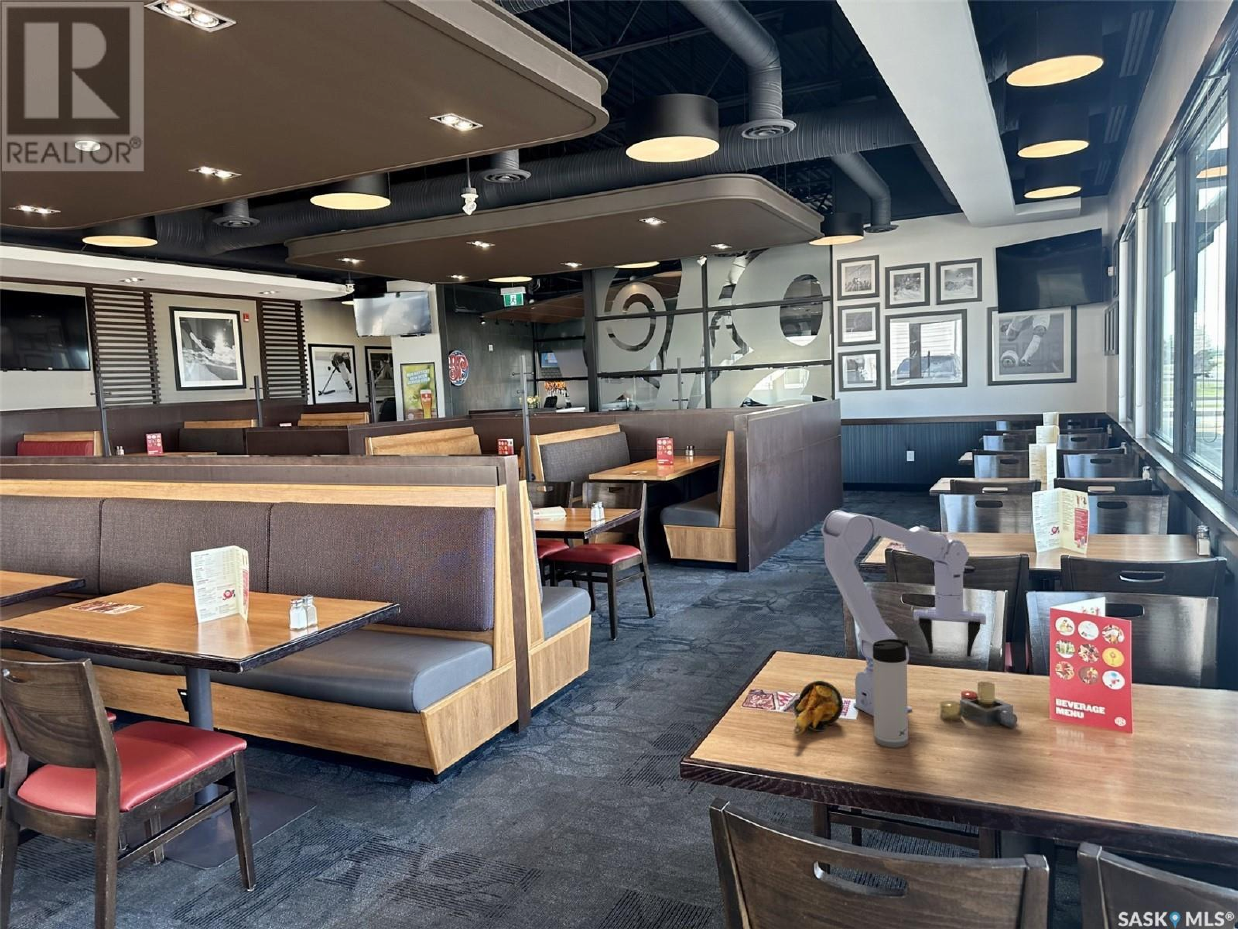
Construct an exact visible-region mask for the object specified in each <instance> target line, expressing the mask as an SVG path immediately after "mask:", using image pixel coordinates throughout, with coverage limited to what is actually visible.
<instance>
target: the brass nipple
mask: <svg viewBox="0 0 1238 929" xmlns="http://www.w3.org/2000/svg"><path fill="white" fill-rule="evenodd" d="M995 687H996V685H995V684H994V683H992V682H990V681H979V682H977V694H978V705H979V706H981V707H983V708H986V709H988V708H992V707H995V699H996V698H995V696H996V695H995V694H996V692H995Z"/></svg>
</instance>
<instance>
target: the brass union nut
mask: <svg viewBox="0 0 1238 929" xmlns="http://www.w3.org/2000/svg"><path fill="white" fill-rule="evenodd" d="M939 705H940V706H939V709H940V712H939V714H940V719H941V720H943V721H944V722H950V723H958V722H961V721H962V715H961V704H960V702H957V701H955V700H954V701H953V700H943V701H940V704H939Z"/></svg>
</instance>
